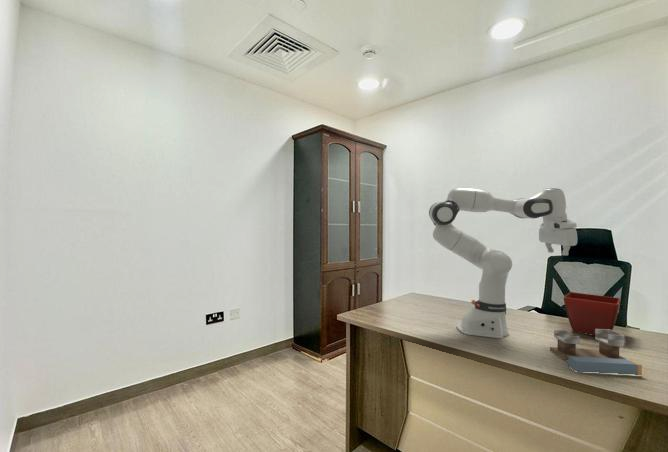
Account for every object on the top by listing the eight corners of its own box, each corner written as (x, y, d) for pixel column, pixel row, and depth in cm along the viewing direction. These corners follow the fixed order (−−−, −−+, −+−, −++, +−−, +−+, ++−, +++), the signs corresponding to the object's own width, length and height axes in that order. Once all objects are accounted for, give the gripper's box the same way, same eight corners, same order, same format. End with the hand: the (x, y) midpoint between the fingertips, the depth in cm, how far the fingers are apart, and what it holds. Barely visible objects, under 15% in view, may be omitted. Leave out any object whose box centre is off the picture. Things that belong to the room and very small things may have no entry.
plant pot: (569, 323, 154) (570, 291, 154) (620, 333, 140) (620, 297, 140) (562, 331, 141) (563, 296, 141) (618, 343, 127) (618, 304, 127)
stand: (565, 360, 109) (565, 333, 109) (550, 350, 118) (550, 325, 118) (629, 364, 107) (629, 336, 107) (608, 354, 116) (608, 328, 116)
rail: (576, 372, 100) (576, 361, 100) (568, 367, 104) (568, 356, 104) (641, 376, 98) (641, 364, 98) (631, 371, 102) (631, 359, 102)
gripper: (533, 223, 144) (536, 251, 144) (563, 225, 123) (566, 257, 124) (547, 222, 143) (549, 250, 144) (579, 223, 123) (582, 256, 123)
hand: (557, 253), depth 134 cm, fingers open, 8 cm apart
